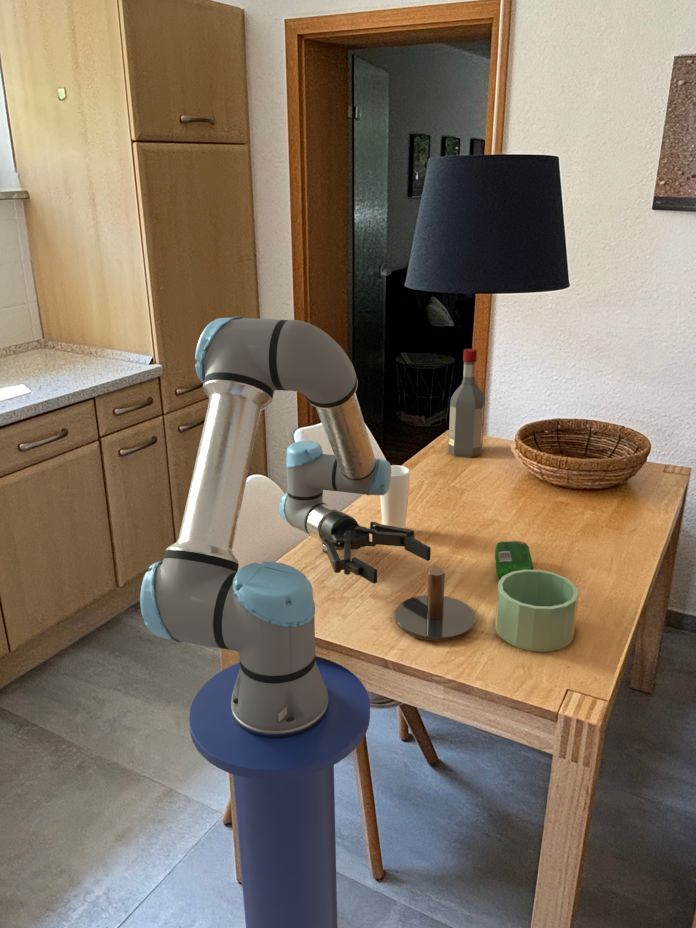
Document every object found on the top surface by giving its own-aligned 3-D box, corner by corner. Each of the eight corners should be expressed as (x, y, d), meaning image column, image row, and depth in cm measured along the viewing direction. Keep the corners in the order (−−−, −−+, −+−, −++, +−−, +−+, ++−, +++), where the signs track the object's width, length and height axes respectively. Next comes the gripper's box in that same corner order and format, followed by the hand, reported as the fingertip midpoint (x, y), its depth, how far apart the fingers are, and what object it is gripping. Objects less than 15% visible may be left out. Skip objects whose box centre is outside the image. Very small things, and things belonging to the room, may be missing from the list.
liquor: (482, 448, 228) (488, 347, 217) (479, 458, 220) (484, 354, 209) (452, 445, 230) (456, 345, 219) (447, 455, 222) (451, 352, 211)
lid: (381, 630, 138) (382, 580, 134) (413, 593, 150) (414, 546, 146) (459, 651, 132) (461, 599, 128) (485, 611, 144) (488, 562, 140)
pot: (485, 639, 135) (488, 597, 132) (507, 603, 146) (510, 563, 143) (563, 659, 129) (568, 616, 126) (580, 620, 141) (585, 579, 137)
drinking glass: (375, 536, 174) (375, 474, 168) (383, 523, 180) (383, 463, 174) (404, 539, 172) (405, 477, 166) (411, 527, 178) (412, 466, 172)
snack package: (496, 593, 150) (498, 570, 148) (492, 556, 164) (494, 534, 162) (533, 596, 149) (536, 572, 147) (526, 558, 163) (528, 535, 161)
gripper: (378, 527, 169) (448, 562, 153) (284, 562, 154) (351, 605, 139) (378, 495, 166) (450, 528, 150) (282, 528, 151) (351, 568, 136)
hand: (403, 565), depth 145 cm, fingers open, 13 cm apart
